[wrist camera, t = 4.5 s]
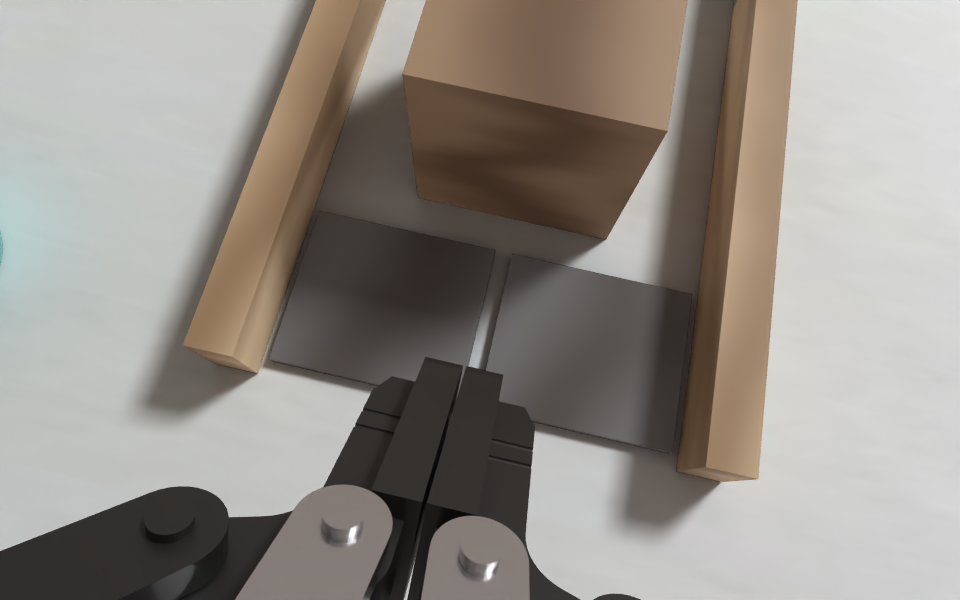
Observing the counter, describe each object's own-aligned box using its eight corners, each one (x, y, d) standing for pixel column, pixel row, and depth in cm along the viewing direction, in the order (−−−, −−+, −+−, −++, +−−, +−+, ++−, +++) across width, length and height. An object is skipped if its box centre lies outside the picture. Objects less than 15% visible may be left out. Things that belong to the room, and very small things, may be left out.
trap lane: (213, 363, 21) (182, 345, 18) (432, -230, 30) (429, -294, 27) (722, 481, 20) (758, 479, 18) (786, -161, 29) (815, -219, 27)
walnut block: (418, 198, 23) (402, 73, 16) (462, 46, 25) (464, -120, 18) (605, 240, 23) (667, 131, 16) (633, 82, 25) (698, -72, 18)
